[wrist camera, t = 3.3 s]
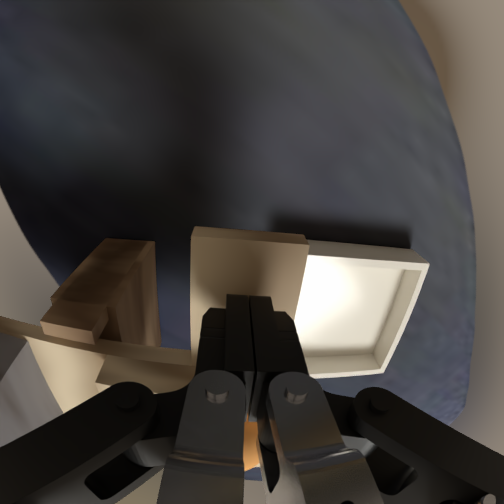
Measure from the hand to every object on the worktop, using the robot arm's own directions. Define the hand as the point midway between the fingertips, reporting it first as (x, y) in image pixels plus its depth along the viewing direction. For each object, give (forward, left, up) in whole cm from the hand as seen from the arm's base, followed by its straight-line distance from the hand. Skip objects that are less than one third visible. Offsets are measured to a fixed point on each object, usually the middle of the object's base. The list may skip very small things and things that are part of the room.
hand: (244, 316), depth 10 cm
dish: (+7, +9, -11) cm, 16 cm away
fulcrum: (+7, -8, -11) cm, 15 cm away
